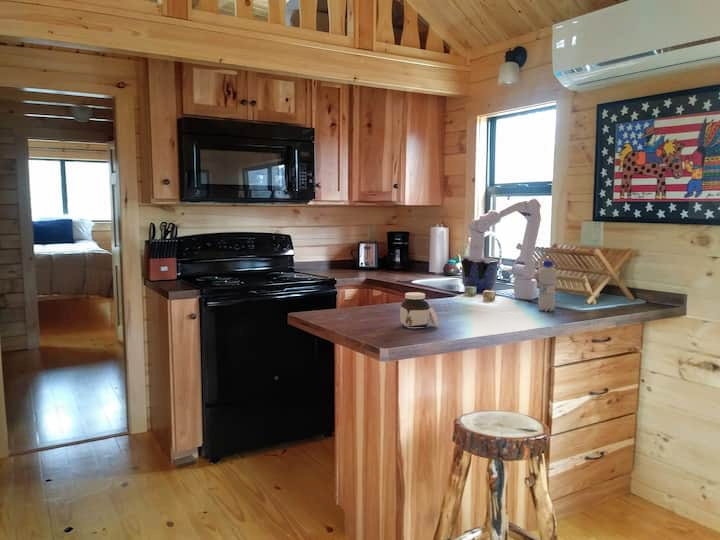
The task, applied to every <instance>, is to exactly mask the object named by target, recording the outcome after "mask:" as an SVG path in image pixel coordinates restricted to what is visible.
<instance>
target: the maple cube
mask: <svg viewBox="0 0 720 540" xmlns="http://www.w3.org/2000/svg"><path fill="white" fill-rule="evenodd" d="M482 295H483V301H494V300H495V296H496V290H491V291H490V290H486V291H483V292H482Z"/></svg>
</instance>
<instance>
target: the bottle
mask: <svg viewBox="0 0 720 540" xmlns="http://www.w3.org/2000/svg"><path fill="white" fill-rule="evenodd" d="M553 265H554V263H553V261H552V260H544V261H543V267H540V269H539V272H538V273H539V274H538V281H539V286H538V288H539V289H538V290H539V291H538V301H537V306H538V309H539V311H540V312H545V313H547V312H548V311H549V312H553V311H554V310H555V308H556V298H555V295H556V282H557V276H558V275H557V269H556V268H555V267H553Z"/></svg>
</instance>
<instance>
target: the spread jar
mask: <svg viewBox="0 0 720 540" xmlns="http://www.w3.org/2000/svg"><path fill="white" fill-rule="evenodd" d="M399 308H400V309H399V311H400V312H399V314H400V315H399V317H400V319H399V320H400V323H401V325H402V324H403V325H405V326H409V327H425V328H427V326H428V325H429V324H430V323H431V325H432V324H433V325H434V326H435V327H434V328H437V327H436V326H438V327H440V323H439V319H438V316H437V313H436V311H435V310H434V308H433V307H430V304H429V302H428V301H427V300H426V293H424V292H418V291H417V292H416V291H415V292H412V291H411V292H405V294H404V299H403V300H402V301H401V303H400V307H399ZM403 325H402V326H403ZM433 325H432V326H433Z"/></svg>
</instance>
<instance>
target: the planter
mask: <svg viewBox="0 0 720 540" xmlns="http://www.w3.org/2000/svg"><path fill="white" fill-rule="evenodd" d="M489 259H490V263H488V264H490V265H489V267H488V268H487V270H486V272H485V274H484V277H483V279H478V265H477V263H481V262H477V261H473V263H472V266H471V271H470V277H465V273H464V268H463V265H462V264H461V276H462V278H461V279H462V284H463V287H464V288H465V287H467V286H473V287H476V293H483V291H486V290H490V291H493V289H494V287H495V286H496V282H497V273H498V264H499V260H498V259H496V258H489ZM472 260H478V259H472ZM461 261H463V260H462V259H461ZM479 261H480V260H479Z"/></svg>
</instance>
